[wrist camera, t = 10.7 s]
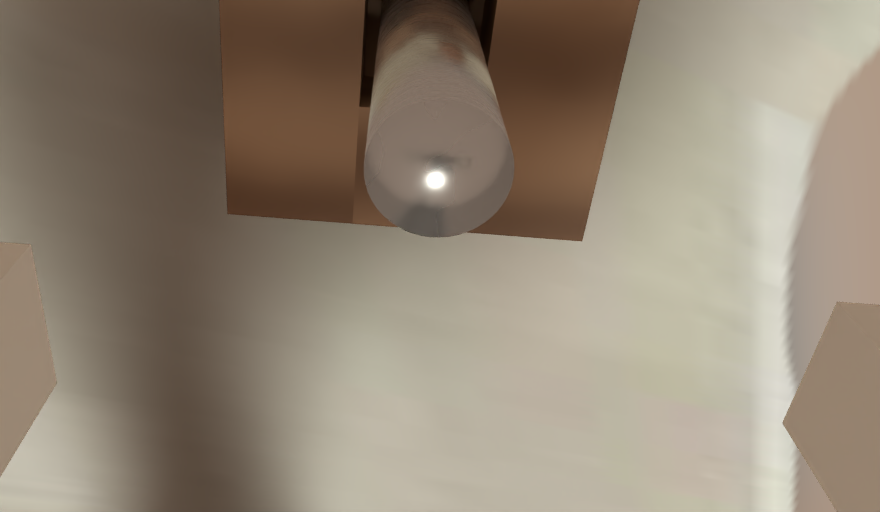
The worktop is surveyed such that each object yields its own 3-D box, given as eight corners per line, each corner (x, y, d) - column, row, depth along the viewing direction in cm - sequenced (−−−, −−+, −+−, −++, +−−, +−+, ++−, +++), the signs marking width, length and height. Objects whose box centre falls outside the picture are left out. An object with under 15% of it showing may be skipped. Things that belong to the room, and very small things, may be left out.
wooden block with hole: (560, 186, 35) (582, 241, 30) (250, 160, 33) (227, 213, 29) (634, -160, 28) (675, -152, 23) (242, -210, 26) (210, -210, 22)
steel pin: (463, 63, 30) (501, 242, 18) (377, 55, 30) (359, 231, 18) (475, -26, 28) (526, 107, 16) (384, -36, 28) (368, 92, 16)
